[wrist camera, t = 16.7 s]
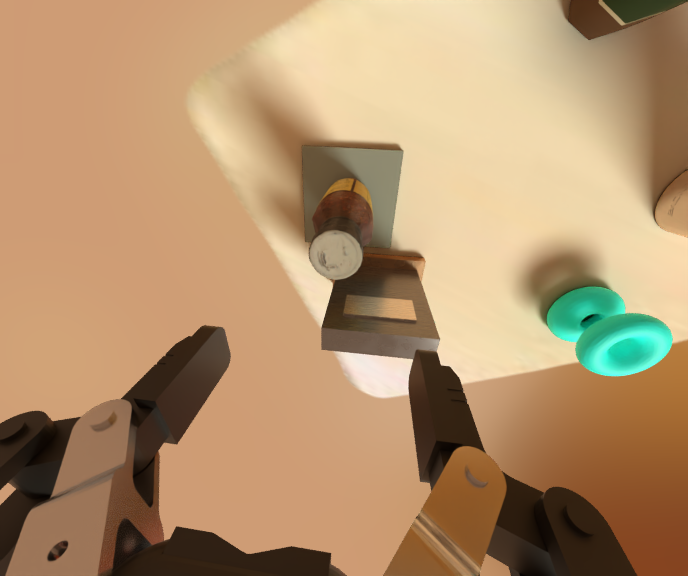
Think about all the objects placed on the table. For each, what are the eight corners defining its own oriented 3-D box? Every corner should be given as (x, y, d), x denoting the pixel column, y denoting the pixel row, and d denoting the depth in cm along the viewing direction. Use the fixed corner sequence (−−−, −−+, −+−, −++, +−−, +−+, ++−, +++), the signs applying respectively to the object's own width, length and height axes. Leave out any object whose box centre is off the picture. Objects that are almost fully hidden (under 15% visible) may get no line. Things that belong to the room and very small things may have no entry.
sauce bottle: (321, 213, 37) (277, 276, 20) (334, 169, 34) (294, 197, 17) (364, 229, 38) (355, 303, 20) (380, 186, 35) (387, 231, 17)
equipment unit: (423, 257, 40) (454, 328, 25) (416, 290, 43) (440, 372, 28) (334, 250, 41) (311, 315, 26) (334, 283, 44) (312, 358, 29)
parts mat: (402, 150, 33) (403, 150, 32) (389, 246, 40) (389, 248, 39) (303, 145, 34) (301, 145, 33) (306, 239, 40) (305, 241, 40)
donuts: (628, 389, 36) (567, 366, 35) (578, 341, 45) (529, 321, 44) (702, 340, 31) (633, 311, 30) (630, 296, 40) (575, 273, 39)
